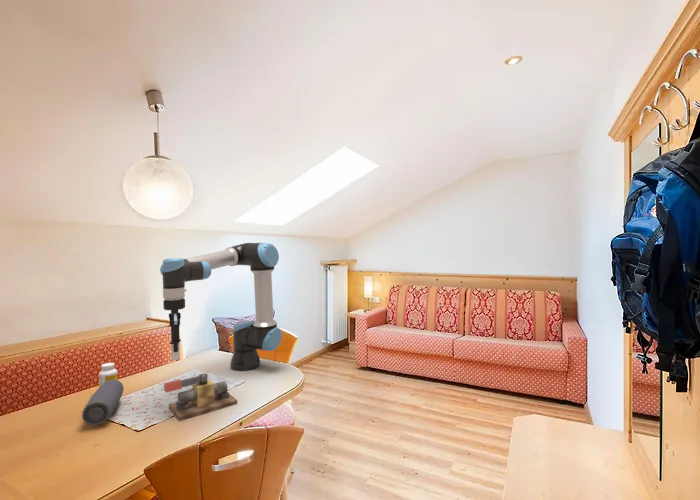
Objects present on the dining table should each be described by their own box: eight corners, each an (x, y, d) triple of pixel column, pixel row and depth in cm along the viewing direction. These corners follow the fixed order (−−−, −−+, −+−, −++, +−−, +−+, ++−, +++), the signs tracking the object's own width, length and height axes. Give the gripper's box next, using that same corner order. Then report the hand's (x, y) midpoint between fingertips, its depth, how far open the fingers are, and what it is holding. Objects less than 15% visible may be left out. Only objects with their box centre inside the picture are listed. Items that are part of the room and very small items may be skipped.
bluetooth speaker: (98, 404, 149) (98, 379, 149) (125, 400, 152) (124, 376, 152) (80, 431, 128) (79, 403, 127) (111, 426, 131) (110, 398, 131)
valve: (223, 392, 160) (223, 372, 159) (237, 403, 149) (237, 381, 149) (168, 407, 145) (168, 385, 145) (179, 421, 135) (179, 396, 134)
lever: (205, 380, 149) (205, 373, 149) (208, 382, 147) (208, 375, 147) (163, 390, 139) (163, 382, 139) (166, 393, 137) (166, 385, 136)
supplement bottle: (121, 391, 161) (120, 362, 161) (110, 397, 155) (109, 367, 154) (107, 390, 162) (106, 361, 162) (95, 396, 155) (94, 366, 155)
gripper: (186, 300, 137) (187, 362, 138) (183, 295, 149) (184, 353, 150) (163, 302, 134) (165, 366, 135) (162, 297, 145) (164, 356, 146)
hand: (175, 359), depth 142 cm, fingers closed
